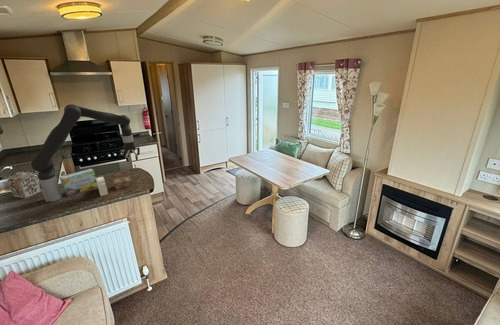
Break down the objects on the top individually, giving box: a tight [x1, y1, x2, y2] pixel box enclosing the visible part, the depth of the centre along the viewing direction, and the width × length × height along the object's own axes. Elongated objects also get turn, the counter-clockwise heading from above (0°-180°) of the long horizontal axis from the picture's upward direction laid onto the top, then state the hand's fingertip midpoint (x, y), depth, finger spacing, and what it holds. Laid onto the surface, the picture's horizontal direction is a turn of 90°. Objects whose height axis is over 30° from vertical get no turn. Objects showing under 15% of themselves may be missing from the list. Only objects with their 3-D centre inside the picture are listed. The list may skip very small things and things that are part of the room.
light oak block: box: [112, 176, 133, 190], centre depth 192 cm, size 12×8×6 cm, turn 125°
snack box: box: [59, 168, 98, 197], centre depth 182 cm, size 21×6×15 cm, turn 143°
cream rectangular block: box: [96, 176, 109, 197], centre depth 182 cm, size 5×16×9 cm, turn 35°
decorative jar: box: [7, 171, 42, 199], centre depth 176 cm, size 12×12×18 cm
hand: (132, 160), depth 191 cm, fingers open, 5 cm apart
